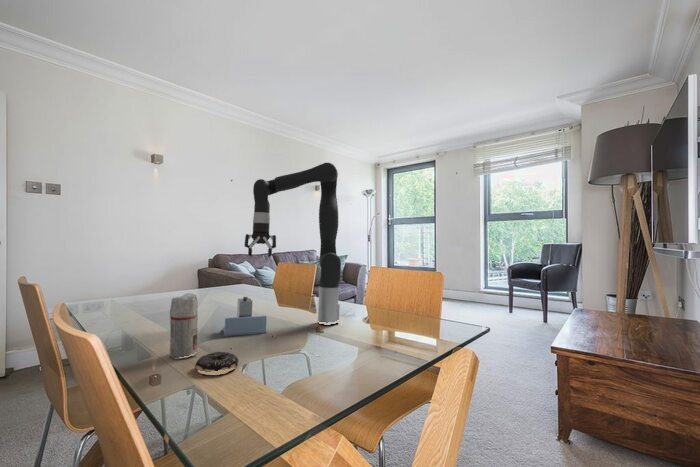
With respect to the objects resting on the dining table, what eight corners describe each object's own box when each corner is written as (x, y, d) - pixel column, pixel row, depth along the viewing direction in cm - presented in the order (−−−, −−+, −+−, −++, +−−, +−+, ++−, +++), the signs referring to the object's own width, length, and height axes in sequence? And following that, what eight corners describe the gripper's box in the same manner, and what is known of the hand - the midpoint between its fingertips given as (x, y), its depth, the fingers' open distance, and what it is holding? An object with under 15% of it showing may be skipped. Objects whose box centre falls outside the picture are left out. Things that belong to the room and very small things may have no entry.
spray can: (185, 361, 103) (188, 297, 103) (162, 358, 105) (165, 295, 105) (202, 352, 111) (205, 293, 112) (181, 350, 113) (184, 291, 113)
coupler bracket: (261, 326, 146) (262, 311, 146) (265, 332, 137) (266, 316, 137) (222, 329, 139) (223, 313, 139) (224, 336, 130) (225, 318, 130)
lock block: (248, 326, 143) (250, 295, 143) (251, 330, 137) (252, 297, 137) (236, 327, 141) (237, 295, 141) (238, 331, 135) (239, 298, 135)
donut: (208, 361, 105) (209, 348, 105) (244, 364, 103) (245, 351, 103) (187, 375, 94) (188, 361, 94) (228, 379, 92) (228, 364, 92)
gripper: (246, 221, 150) (245, 257, 150) (278, 223, 156) (276, 257, 156) (244, 221, 157) (243, 256, 157) (274, 223, 163) (273, 256, 163)
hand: (259, 256), depth 157 cm, fingers open, 8 cm apart
